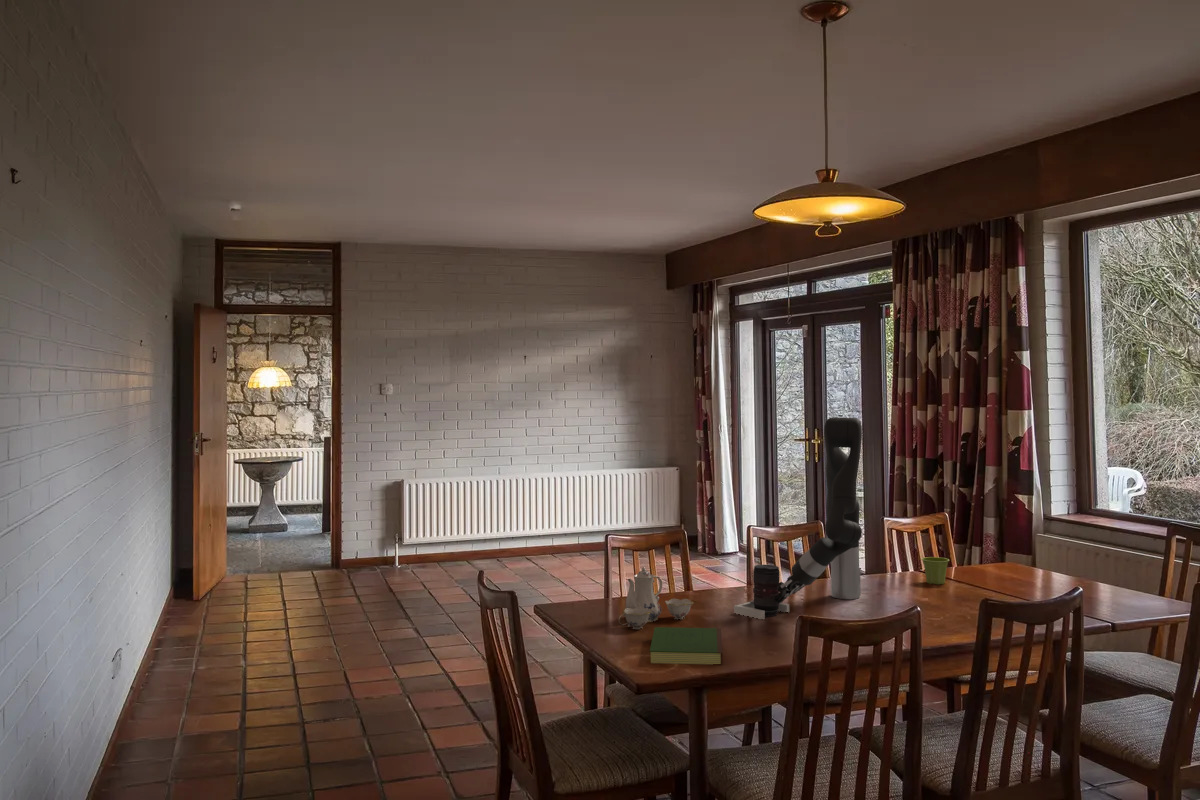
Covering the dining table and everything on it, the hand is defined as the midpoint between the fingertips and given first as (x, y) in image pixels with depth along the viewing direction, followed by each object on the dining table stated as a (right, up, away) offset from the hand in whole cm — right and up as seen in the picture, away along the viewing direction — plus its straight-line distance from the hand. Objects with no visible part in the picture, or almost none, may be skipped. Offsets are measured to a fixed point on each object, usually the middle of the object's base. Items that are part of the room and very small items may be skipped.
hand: (777, 600), depth 288 cm
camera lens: (-3, -5, +3) cm, 7 cm away
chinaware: (-39, -6, -3) cm, 40 cm away
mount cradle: (-4, -5, +5) cm, 8 cm away
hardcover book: (-31, -6, -36) cm, 48 cm away
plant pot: (+66, -4, +47) cm, 81 cm away
